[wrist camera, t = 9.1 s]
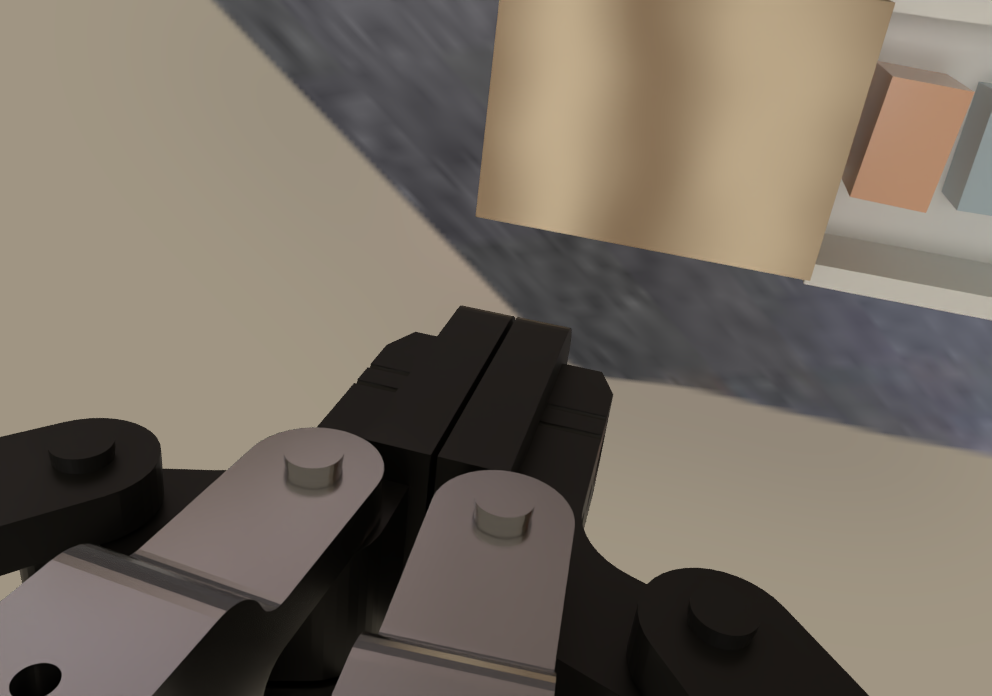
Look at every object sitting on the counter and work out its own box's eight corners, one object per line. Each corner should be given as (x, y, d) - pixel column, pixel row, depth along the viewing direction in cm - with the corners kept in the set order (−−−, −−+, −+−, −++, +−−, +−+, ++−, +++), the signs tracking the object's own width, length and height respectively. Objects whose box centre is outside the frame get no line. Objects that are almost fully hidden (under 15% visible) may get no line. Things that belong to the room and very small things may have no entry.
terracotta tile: (874, 60, 31) (946, 73, 30) (836, 168, 33) (904, 182, 32) (892, 76, 27) (975, 91, 27) (849, 196, 29) (926, 213, 29)
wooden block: (869, -9, 30) (895, 2, 26) (798, 232, 34) (810, 280, 30) (538, -54, 32) (505, -52, 27) (509, 179, 36) (475, 216, 32)
